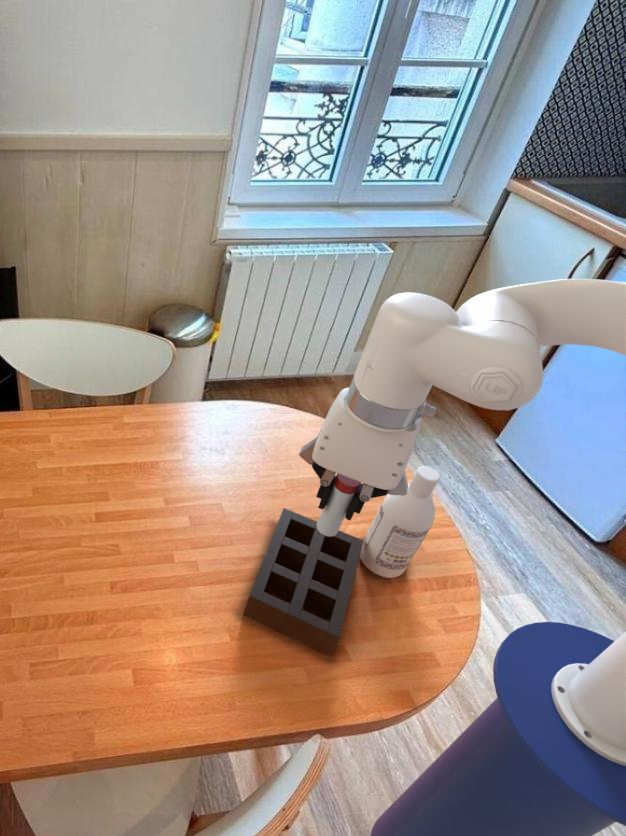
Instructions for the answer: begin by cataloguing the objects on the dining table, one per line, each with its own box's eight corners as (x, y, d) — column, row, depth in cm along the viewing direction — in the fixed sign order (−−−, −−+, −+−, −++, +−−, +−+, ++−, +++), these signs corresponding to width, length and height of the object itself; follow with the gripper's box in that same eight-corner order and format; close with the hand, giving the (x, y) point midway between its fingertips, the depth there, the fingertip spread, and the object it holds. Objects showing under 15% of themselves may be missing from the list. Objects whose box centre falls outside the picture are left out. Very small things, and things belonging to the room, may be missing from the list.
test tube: (340, 525, 83) (362, 475, 76) (335, 540, 80) (358, 490, 74) (318, 516, 84) (339, 466, 77) (313, 531, 81) (334, 481, 75)
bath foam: (414, 572, 94) (468, 485, 82) (378, 584, 92) (427, 498, 80) (384, 537, 99) (430, 450, 87) (349, 548, 97) (391, 461, 85)
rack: (354, 559, 96) (363, 540, 92) (329, 656, 83) (339, 637, 80) (276, 527, 100) (283, 507, 97) (242, 614, 87) (249, 595, 84)
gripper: (464, 406, 68) (405, 512, 79) (317, 359, 73) (282, 465, 85) (459, 447, 62) (397, 554, 74) (302, 394, 68) (267, 501, 79)
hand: (336, 506), depth 79 cm, fingers closed on test tube, 2 cm apart
